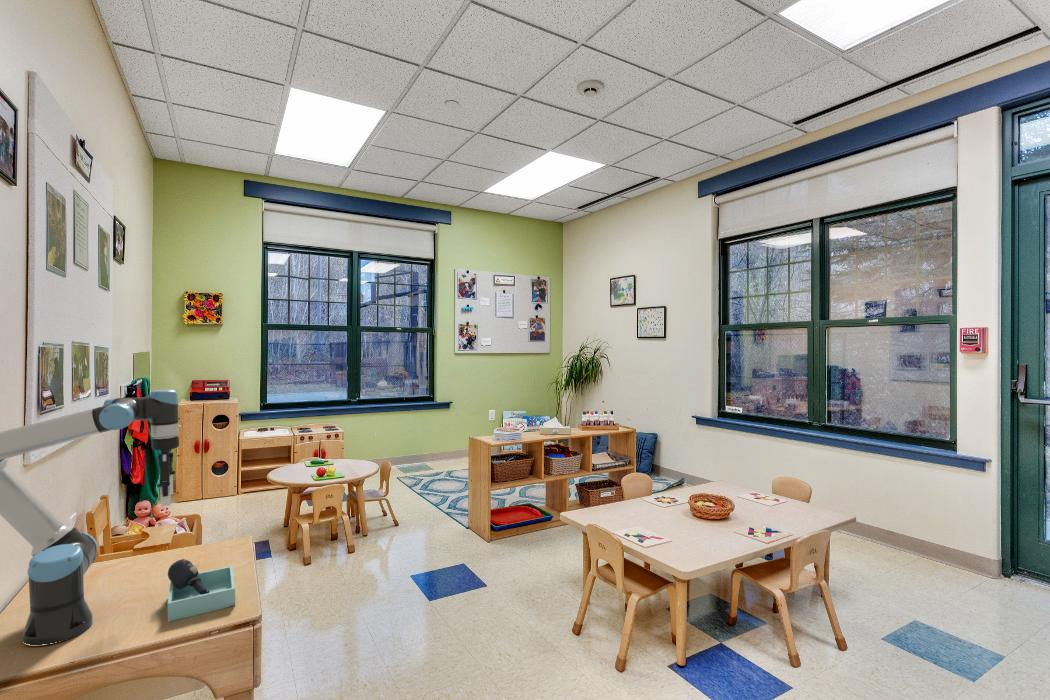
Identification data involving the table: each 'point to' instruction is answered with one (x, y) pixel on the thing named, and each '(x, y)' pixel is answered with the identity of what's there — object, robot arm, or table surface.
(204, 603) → the bin
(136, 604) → the table surface
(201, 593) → the toy
